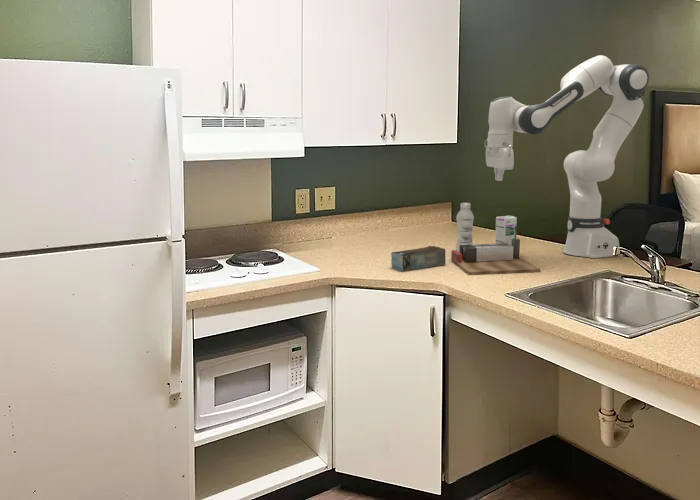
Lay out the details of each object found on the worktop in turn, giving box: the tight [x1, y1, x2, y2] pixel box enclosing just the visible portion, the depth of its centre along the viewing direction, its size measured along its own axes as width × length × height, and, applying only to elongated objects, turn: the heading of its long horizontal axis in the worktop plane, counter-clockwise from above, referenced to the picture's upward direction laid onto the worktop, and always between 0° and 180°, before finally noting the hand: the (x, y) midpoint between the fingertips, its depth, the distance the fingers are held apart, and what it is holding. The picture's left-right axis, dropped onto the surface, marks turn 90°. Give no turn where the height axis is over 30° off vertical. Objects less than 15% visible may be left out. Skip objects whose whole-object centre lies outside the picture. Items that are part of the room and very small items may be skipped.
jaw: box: [463, 245, 513, 262], centre depth 226 cm, size 18×3×5 cm, turn 97°
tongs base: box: [450, 238, 541, 276], centre depth 222 cm, size 25×22×8 cm
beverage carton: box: [390, 245, 447, 272], centre depth 224 cm, size 8×19×7 cm, turn 119°
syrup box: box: [494, 215, 518, 245], centre depth 242 cm, size 6×6×14 cm
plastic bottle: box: [455, 202, 475, 252], centre depth 241 cm, size 6×7×20 cm
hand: (498, 180), depth 230 cm, fingers closed
